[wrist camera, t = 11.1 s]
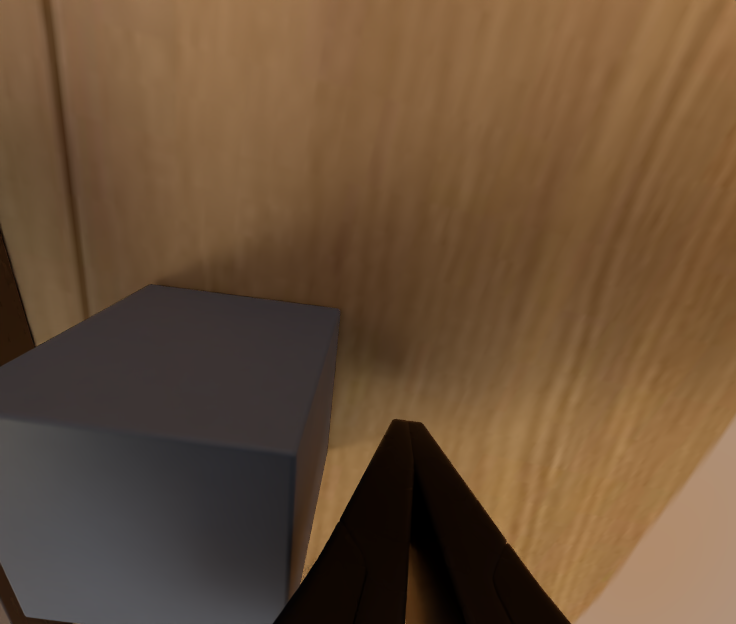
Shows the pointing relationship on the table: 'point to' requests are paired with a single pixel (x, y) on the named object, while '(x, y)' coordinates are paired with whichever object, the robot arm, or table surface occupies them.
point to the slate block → (166, 459)
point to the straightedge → (3, 344)
